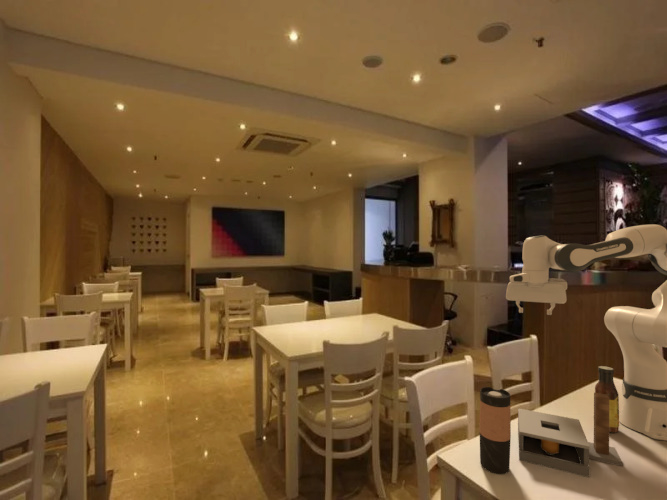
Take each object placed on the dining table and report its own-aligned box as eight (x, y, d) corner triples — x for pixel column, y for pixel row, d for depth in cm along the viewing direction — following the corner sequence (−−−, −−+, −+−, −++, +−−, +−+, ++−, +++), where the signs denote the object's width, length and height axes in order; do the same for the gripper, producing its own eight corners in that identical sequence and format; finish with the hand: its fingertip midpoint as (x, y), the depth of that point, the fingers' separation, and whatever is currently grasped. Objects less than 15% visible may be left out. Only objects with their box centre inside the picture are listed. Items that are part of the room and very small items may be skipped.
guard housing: (578, 446, 104) (578, 419, 104) (589, 477, 90) (589, 446, 90) (518, 433, 111) (518, 408, 111) (519, 460, 97) (519, 431, 97)
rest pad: (614, 450, 102) (614, 447, 102) (622, 466, 95) (622, 462, 95) (581, 443, 106) (581, 440, 106) (586, 457, 98) (586, 454, 98)
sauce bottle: (623, 434, 111) (624, 372, 111) (601, 432, 112) (601, 370, 112) (611, 424, 117) (612, 365, 117) (590, 422, 119) (591, 364, 119)
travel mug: (493, 477, 90) (493, 399, 90) (473, 460, 97) (473, 388, 97) (517, 472, 92) (517, 396, 92) (495, 455, 99) (496, 385, 99)
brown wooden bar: (606, 449, 101) (606, 394, 101) (609, 455, 98) (609, 398, 98) (593, 447, 102) (594, 392, 102) (595, 452, 99) (596, 396, 99)
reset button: (558, 447, 102) (558, 438, 102) (560, 455, 98) (560, 446, 98) (540, 443, 104) (540, 434, 104) (541, 450, 100) (541, 442, 100)
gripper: (566, 278, 133) (565, 314, 133) (506, 276, 142) (505, 310, 142) (568, 279, 127) (568, 317, 127) (505, 277, 136) (505, 312, 136)
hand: (534, 313), depth 134 cm, fingers open, 8 cm apart
